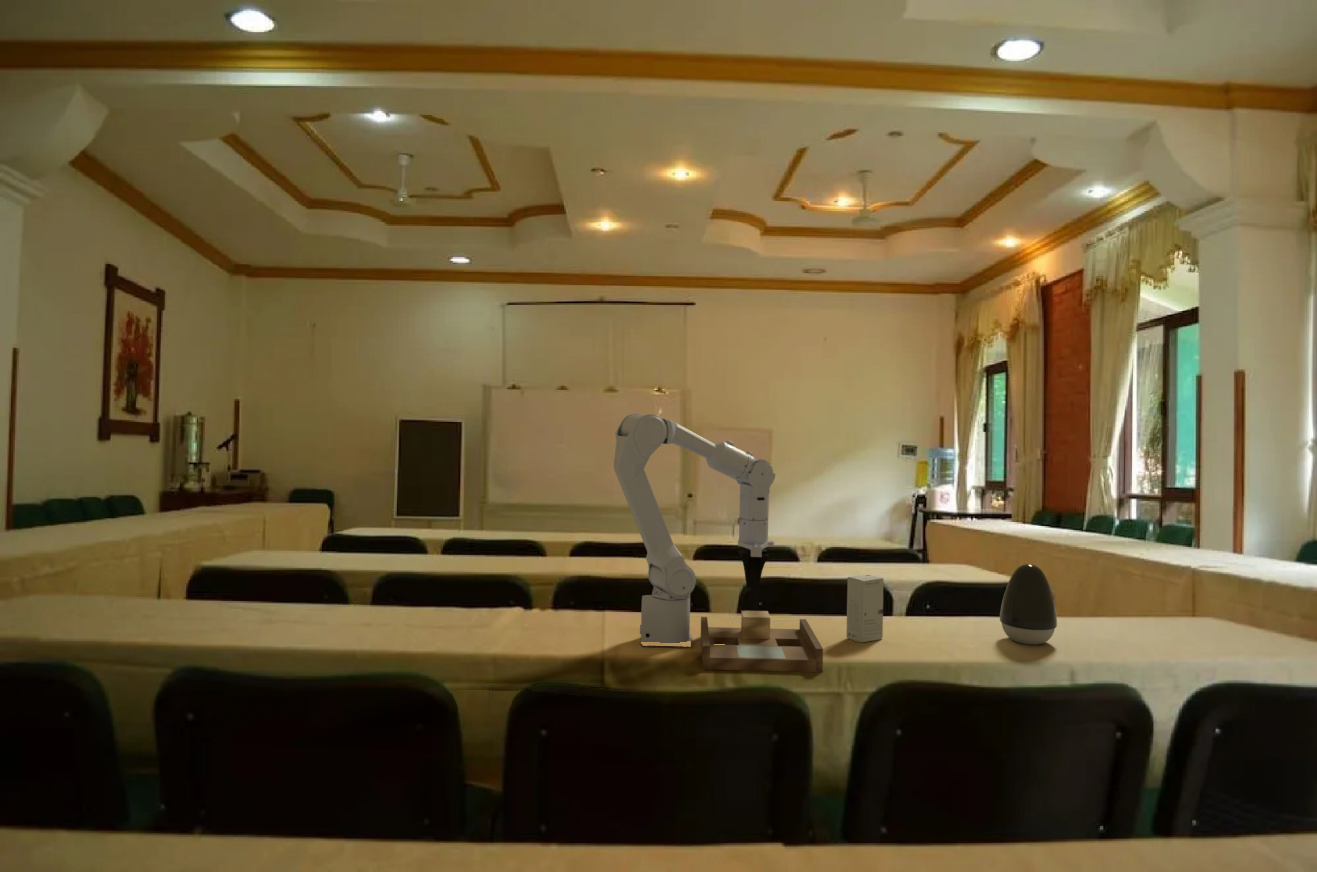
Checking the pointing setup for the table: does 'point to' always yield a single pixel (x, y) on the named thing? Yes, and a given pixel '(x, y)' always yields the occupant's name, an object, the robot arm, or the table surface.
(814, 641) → the trap board
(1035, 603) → the two-tone egg figurine
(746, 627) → the maple block
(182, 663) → the table surface
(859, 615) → the skincare box
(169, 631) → the table surface
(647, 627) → the robot arm
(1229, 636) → the table surface
